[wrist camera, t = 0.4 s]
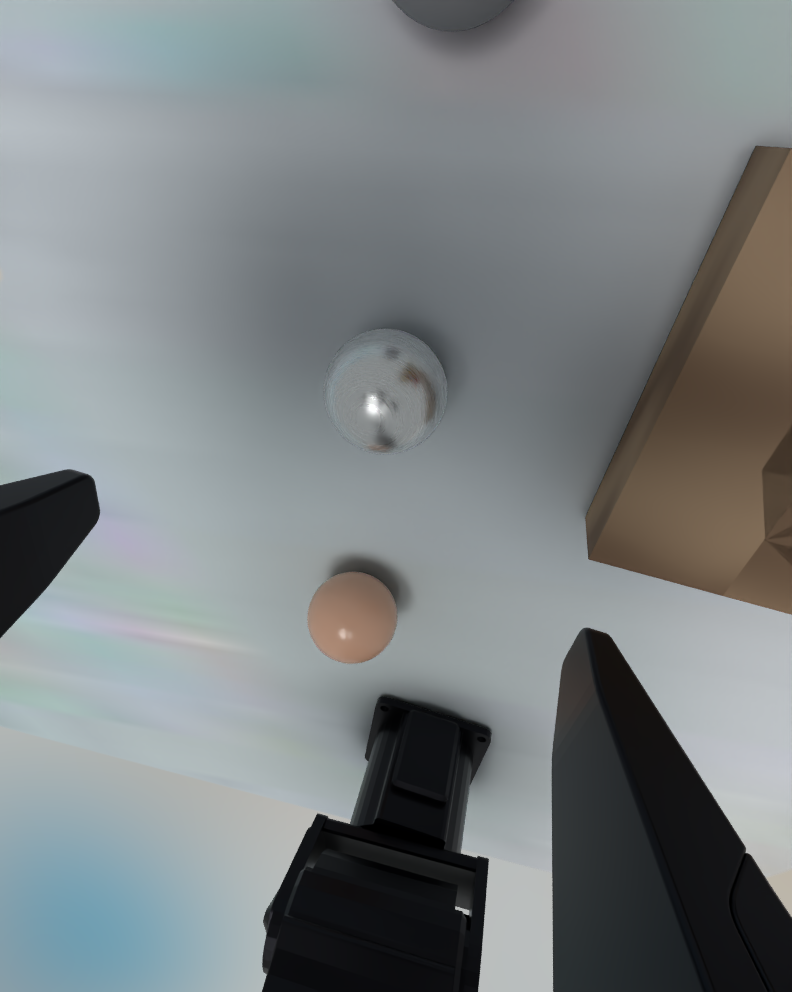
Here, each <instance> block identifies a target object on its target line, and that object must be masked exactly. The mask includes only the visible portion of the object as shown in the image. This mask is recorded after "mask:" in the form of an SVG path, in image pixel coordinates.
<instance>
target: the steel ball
mask: <svg viewBox="0 0 792 992" xmlns="http://www.w3.org/2000/svg"><path fill="white" fill-rule="evenodd" d="M324 401H325V406H326V410H327V413H328V416H329V418H330V420H331V422H332V424H333V425H334V427H335V428H336V430H337V431H338V432H339V433H340V434H341V436H343V437H344V438H345V439H346V440H347V441H348V442H350V443H351V444H352V445H354V446H356V447H357V448H360V449H362V450H364V451H367V452H370V453H375V454H383V455H387V454H396V453H401V452H405V451H408V450H410V449H412V448H414V447H416V446H418V445H419V444H421V443H422V442H423V441H425V440H426V439H427V438H428V437H429V436H430V435H431V434H432V433H433V431H434V430H435V429H436V427H437V426H438V424H439V422H440V421H441V418H442V416H443V414H444V410H445V407H446V402H447V382H446V376H445V373H444V370H443V367H442V365H441V363H440V361H439V360H438V358H437V356H436V355H435V353H434V352H433V351H432V350H431V349H430V347H429V346H428V345H427V344H425V343H424V342H423V341H422V340H420V339H419V338H417V337H415V336H414V335H411V334H409V333H407V332H404V331H400V330H395V329H374V330H370V331H367V332H364V333H361V334H359V335H357V336H355V337H354V338H352V339H351V340H349V341H348V342H347V343H345V344H344V345H343V346H342V347H341V348H340V349H339V351H338V352H337V353H336V354H335V356H334V357H333V359H332V361H331V363H330V365H329V367H328V370H327V373H326V376H325V382H324Z"/></svg>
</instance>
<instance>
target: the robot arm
mask: <svg viewBox="0 0 792 992" xmlns="http://www.w3.org/2000/svg"><path fill="white" fill-rule="evenodd" d="M99 515H100V507H99V502H98V497H97V491H96V486H95V481H94V479H93V478H92V477H91V476H90V475H88V474H85V473H82V472H79V471H75V470H70V469H67V470H62V471H58V472H54V473H50V474H46V475H41V476H37V477H33V478H29V479H25V480H21V481H16V482H12V483H8V484H4V485H0V638H1V637H2V636H3V635H4V634H5V633H6V631H7V630H8V629H9V628H10V627H11V626H12V625H13V624H14V623H15V622H16V621H17V620H18V619H19V618H20V616H21V615H22V614H23V613H24V612H25V611H26V610H27V609H28V608H29V607H30V606H31V605H32V604H33V603H34V601H35V600H36V599H37V598H38V597H39V596H40V595H41V594H42V593H43V592H44V590H45V589H46V588H47V587H48V586H49V584H50V583H51V582H52V581H53V579H54V578H55V577H56V576H57V574H58V573H59V572H60V570H61V569H62V568H63V567H64V565H65V564H66V563H67V561H68V560H69V559H70V557H71V556H72V555H73V553H74V552H75V551H76V550H77V548H78V547H79V546H80V544H81V543H82V542H83V540H84V539H85V538H86V536H87V535H88V534H89V532H90V531H91V530H92V529H93V527H94V526H95V525H96V523H97V521H98V519H99ZM490 742H491V732H490V731H489V730H488V729H486V728H483V727H480V726H477V725H474V724H471V723H468V722H464V721H461V720H458V719H455V718H452V717H448V716H445V715H442V714H439V713H436V712H433V711H429V710H426V709H423V708H420V707H417V706H414V705H410V704H407V703H404V702H401V701H398V700H395V699H391V698H388V697H380V698H379V699H378V701H377V704H376V708H375V712H374V717H373V721H372V726H371V731H370V735H369V740H368V744H367V749H366V754H365V758H366V760H367V761H369V762H368V765H367V768H366V772H365V775H364V778H363V782H362V785H361V788H360V792H359V795H358V798H357V802H356V805H355V808H354V812H353V815H352V819H351V822H350V824H348V823H344V822H340V821H336V820H333V819H329V818H328V816H325V815H322V814H317V815H316V817H315V820H314V821H313V824H312V826H311V827H310V828H308V830H307V832H306V834H305V836H304V838H303V840H302V842H301V844H300V846H299V849H298V851H297V853H296V855H295V857H294V859H293V861H292V863H291V865H290V868H289V870H288V872H287V874H286V876H285V878H284V880H283V882H282V884H281V887H280V889H279V890H278V892H277V894H276V895H275V897H274V898H273V900H272V902H271V903H270V905H269V906H268V908H267V910H266V912H265V916H264V920H263V923H264V927H265V930H266V933H267V935H266V940H265V945H264V952H263V963H262V965H263V966H262V967H263V972H264V973H266V974H267V976H266V980H265V983H264V987H263V990H262V992H478V985H479V976H480V964H481V953H482V939H483V928H484V927H483V926H484V914H485V901H486V888H487V875H488V862H489V859H488V858H484V857H480V856H478V857H477V858H476V857H472V856H468V855H464V854H461V847H462V839H463V832H464V824H465V817H466V809H467V802H468V794H469V787H470V784H471V782H472V780H473V778H474V776H475V774H476V772H477V770H478V767H479V765H480V763H481V761H482V759H483V757H484V755H485V753H486V751H487V749H488V747H489V744H490ZM745 852H746V847H745V845H744V844H743V842H742V841H741V839H740V838H739V836H738V834H737V833H736V831H735V830H734V828H733V827H732V825H731V824H730V822H729V820H728V819H727V817H726V816H725V814H724V813H723V811H722V810H721V808H720V806H719V805H718V803H717V802H716V800H715V799H714V797H713V795H712V794H711V792H710V791H709V789H708V788H707V786H706V785H705V783H704V781H703V780H702V778H701V777H700V775H699V774H698V772H697V771H696V769H695V767H694V766H693V764H692V763H691V761H690V760H689V758H688V756H687V755H686V753H685V752H684V750H683V749H682V747H681V746H680V744H679V742H678V741H677V739H676V738H675V736H674V735H673V733H672V732H671V730H670V728H669V727H668V725H667V724H666V722H665V721H664V719H663V717H662V716H661V714H660V713H659V711H658V710H657V708H656V707H655V705H654V703H653V702H652V700H651V699H650V697H649V696H648V694H647V693H646V691H645V689H644V688H643V686H642V685H641V683H640V682H639V680H638V678H637V677H636V675H635V674H634V672H633V671H632V669H631V668H630V666H629V664H628V663H627V661H626V660H625V658H624V657H623V655H622V654H621V652H620V650H619V649H618V647H617V646H616V644H615V643H614V641H613V639H612V638H611V637H610V636H609V635H608V634H606V633H603V632H600V631H597V630H594V629H590V628H583V629H582V630H581V631H580V632H579V634H578V636H577V637H576V639H575V641H574V643H573V645H572V646H571V648H570V650H569V652H568V653H567V655H566V657H565V659H564V662H563V665H562V670H561V679H560V688H559V697H558V706H557V715H556V724H555V732H554V741H553V752H552V878H553V992H792V917H791V916H790V914H789V913H788V911H787V910H786V908H785V907H784V905H783V904H782V902H781V901H780V899H779V898H778V896H777V895H776V893H775V892H774V890H773V889H772V887H771V886H770V884H769V883H768V881H767V879H766V878H765V876H764V875H763V873H762V872H761V870H760V868H759V867H758V865H757V864H756V862H755V861H754V859H753V857H752V856H751V855H750V854H748V853H745ZM455 906H457V907H460V908H464V909H467V910H469V915H466V914H463V912H462V911H459V910H455Z"/></svg>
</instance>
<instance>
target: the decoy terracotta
mask: <svg viewBox="0 0 792 992" xmlns="http://www.w3.org/2000/svg"><path fill="white" fill-rule="evenodd" d="M307 621H308V629H309V632H310V635H311V638H312V639H313V641H314V643H315V645H316V646H317V647H318V648H319V650H320V651H321V652H322V653H323V654H325V655H326V656H328V657H329V658H331V659H333V660H335V661H338V662H341V663H347V664H356V663H362V662H365V661H368V660H370V659H372V658H374V657H376V656H377V655H379V654H380V653H381V652H382V651H383V650H384V649H385V648H386V647H387V646H388V645H389V643H390V641H391V640H392V638H393V636H394V633H395V630H396V626H397V608H396V604H395V601H394V598H393V596H392V594H391V593H390V591H389V590H388V588H387V587H386V586H385V585H384V584H383V583H382V582H381V581H380V580H378V579H377V578H375V577H373V576H371V575H369V574H366V573H362V572H345V573H341V574H338V575H335V576H333V577H331V578H330V579H328V580H327V581H325V582H324V583H323V584H322V585H321V586H320V587H319V588H318V589H317V591H316V592H315V594H314V595H313V597H312V600H311V602H310V605H309V609H308V616H307Z"/></svg>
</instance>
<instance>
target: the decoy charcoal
mask: <svg viewBox="0 0 792 992" xmlns="http://www.w3.org/2000/svg"><path fill="white" fill-rule="evenodd" d="M393 1H394V3H395V4H396V5H397V6H398V7H399V8H400V9H401V10H402V11H403V12H404V13H405V14H406V15H407V16H409V17H410V18H412V19H413V20H415V21H416V22H418V23H420V24H422V25H424V26H427V27H429V28H432V29H436V30H440V31H451V32H453V31H463V30H467V29H471V28H475V27H477V26H479V25H481V24H484V23H486V22H488V21H489V20H491V19H492V18H494V17H496V16H497V15H498V14H500V13H501V12H502V11H503V10H504V9H506V8H507V7H508V6H509V5H510V4H511V3H512V2H513V1H514V0H393Z"/></svg>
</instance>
